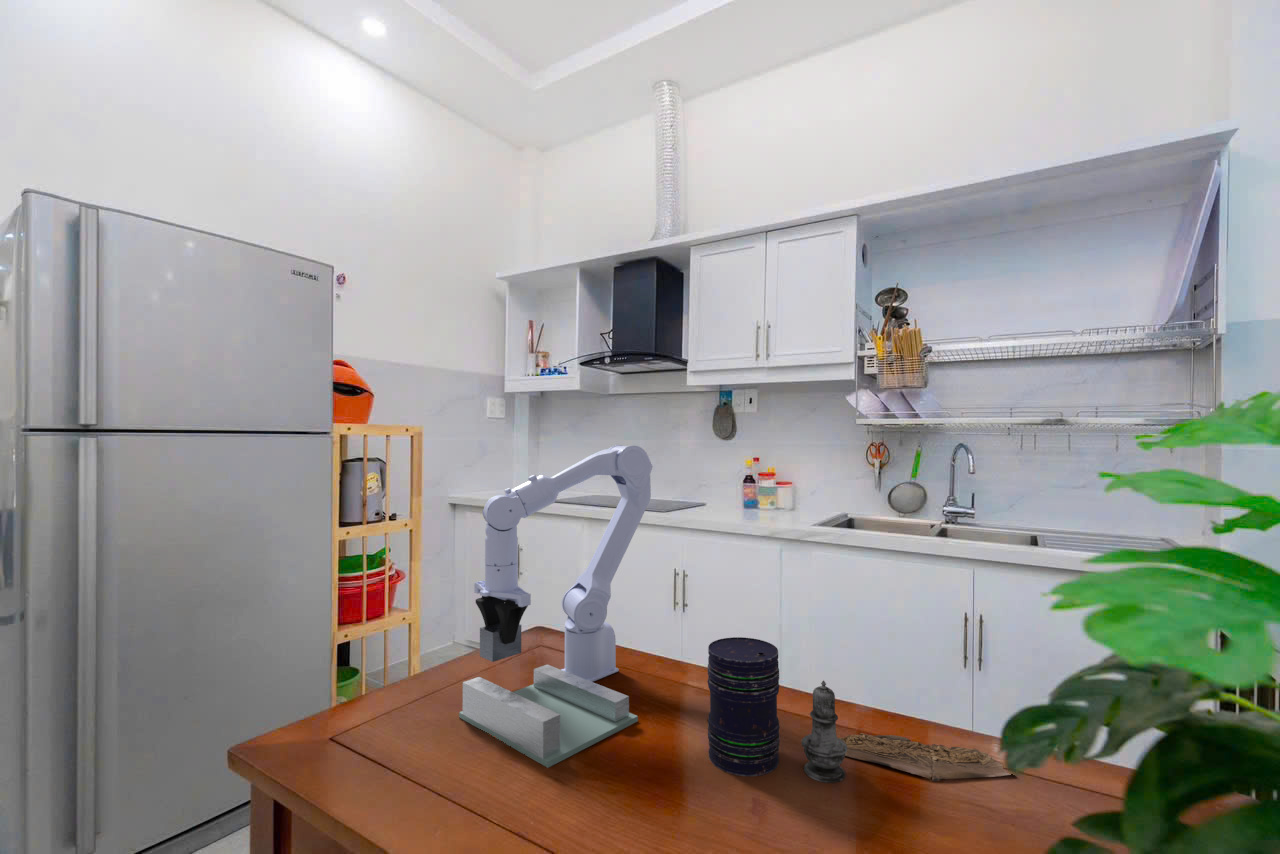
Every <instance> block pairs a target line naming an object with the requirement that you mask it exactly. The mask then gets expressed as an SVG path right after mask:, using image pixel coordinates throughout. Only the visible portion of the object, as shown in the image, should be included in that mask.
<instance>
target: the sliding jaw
mask: <svg viewBox="0 0 1280 854" xmlns="http://www.w3.org/2000/svg"><path fill="white" fill-rule="evenodd" d="M533 684H534V687H536V688H538V689H541V690H543V691H545V692H548V693H550V694H552V695H554V696H557V697H559V698H561V699H563V700H566V701H568V702H570V703H573V704H575V705H577V706H579V707H582V708H584V709H586V710H589V711H591V712H593V713H595V714H598V715H600V716H602V717H604V718H607V719H609V720H611V721H614V722H617V721H619V720H621V719H623V718H625V717H627V716H629V713H630V696H629V695H626V694H624V693H621V692H619V691H616V690H615V689H611V688H608V687H606V686H603V685H602V684H601V685H600V684H598V683H595V681H593V682H591V681H588V680H586V679H583V678H581V677H578V676H576V675H573V674H571V673H568V672H565V671H563V670H561V668H557V667H555V666H553V665H550V664H545V665H541V666H539V667H536V668H533Z"/></svg>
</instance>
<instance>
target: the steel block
mask: <svg viewBox="0 0 1280 854" xmlns="http://www.w3.org/2000/svg"><path fill="white" fill-rule="evenodd" d="M521 653H522V624H521V623H519V627H518V630H517V634H516V638H515V642H512V643H509V644H503V641H502V634H501V624H500V623H496V624H493V625H489V626H485V625H484V626H482V627H479V657H480V658H483V659H485V660H487V661H490V662H492V663H493V662H497V661H500V660H503V659H506V658H510V657H513V656H515V655H520V654H521Z"/></svg>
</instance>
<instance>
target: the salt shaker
mask: <svg viewBox="0 0 1280 854" xmlns="http://www.w3.org/2000/svg"><path fill="white" fill-rule="evenodd" d="M820 684H821V685H820V686H817V687H815V688H814V689H813V691H812V710H811V711H810V713H809V716H810V717H811V719H812V720H811V722H812V723H811V725H812V727H811V728H812V729H811V733H810V734H808V735H805V736H804V737H802V738H801V741H800V744H801V747H803V752H804V754H805V757H806V759H807V760H808V761H807V762H806V763H805V764H804V766H803V771H804V773H805V774H806V776H808V777H809V778H810V779H812V780H814V781H817V782H821V783H826V784H835V783H839V782H841V781H844V779H846V771H845V769H843V767H842V766H840V765H841V764H843V762H844V759H845V757H846V756H845V753H846V752H847V749H848V748H847V745H846V744H845V743H844V742H843V741H842V740H841V739H839V738H840V737H837V727H836V726H837V723H836V722H837V721H838V719H839V716H838V715H837V714H836V695H835V692H834V691H833V689H831V688H830V687H828V686H826V685H827V683H826V681H825V680H822V681H821V682H820Z"/></svg>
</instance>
